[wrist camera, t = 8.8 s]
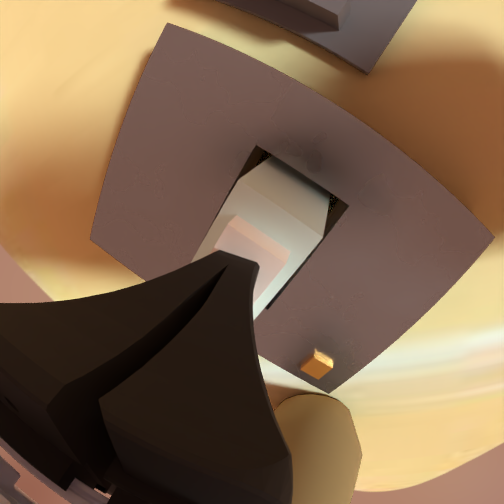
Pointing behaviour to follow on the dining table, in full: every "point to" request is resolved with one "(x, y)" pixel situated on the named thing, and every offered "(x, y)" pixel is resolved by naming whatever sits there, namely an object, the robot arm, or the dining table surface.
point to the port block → (308, 163)
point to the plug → (270, 224)
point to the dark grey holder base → (336, 24)
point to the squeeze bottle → (320, 448)
